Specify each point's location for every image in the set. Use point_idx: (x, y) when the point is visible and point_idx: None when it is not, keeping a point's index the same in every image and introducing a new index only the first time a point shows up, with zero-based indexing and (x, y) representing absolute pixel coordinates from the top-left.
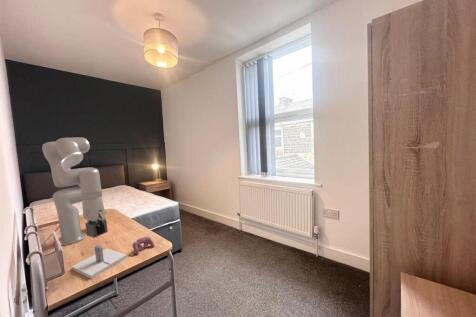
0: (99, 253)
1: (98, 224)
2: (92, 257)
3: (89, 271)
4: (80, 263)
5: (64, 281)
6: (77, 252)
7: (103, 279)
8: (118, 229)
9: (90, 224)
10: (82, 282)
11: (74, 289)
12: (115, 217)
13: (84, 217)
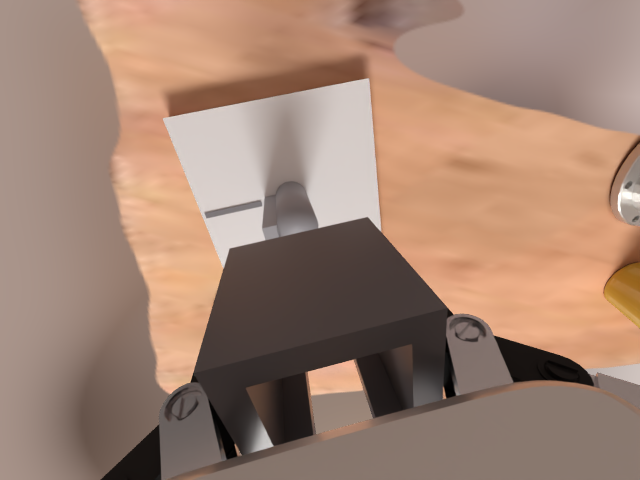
0: (275, 210)
1: (161, 428)
2: (359, 181)
3: (217, 126)
4: (355, 121)
5: (269, 9)
6: (511, 151)
7: (113, 155)
8: (521, 326)
9: (284, 356)
10: (171, 75)
11: (128, 20)
12: (635, 346)
13: (576, 430)
